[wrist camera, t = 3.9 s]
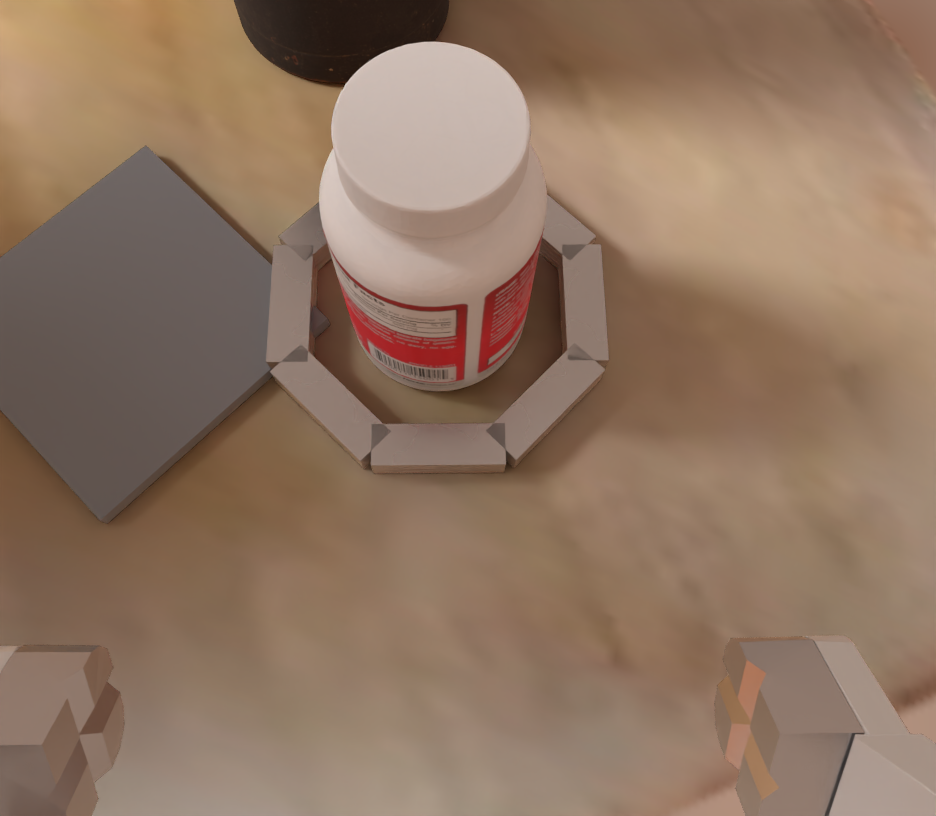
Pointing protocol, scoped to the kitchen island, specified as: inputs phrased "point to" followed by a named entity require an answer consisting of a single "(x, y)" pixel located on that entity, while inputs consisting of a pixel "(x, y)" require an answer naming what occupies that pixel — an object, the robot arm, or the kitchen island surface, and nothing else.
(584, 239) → the collar
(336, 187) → the pill bottle
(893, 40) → the kitchen island surface
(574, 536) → the kitchen island surface
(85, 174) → the kitchen island surface
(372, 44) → the container
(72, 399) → the coaster
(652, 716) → the kitchen island surface
